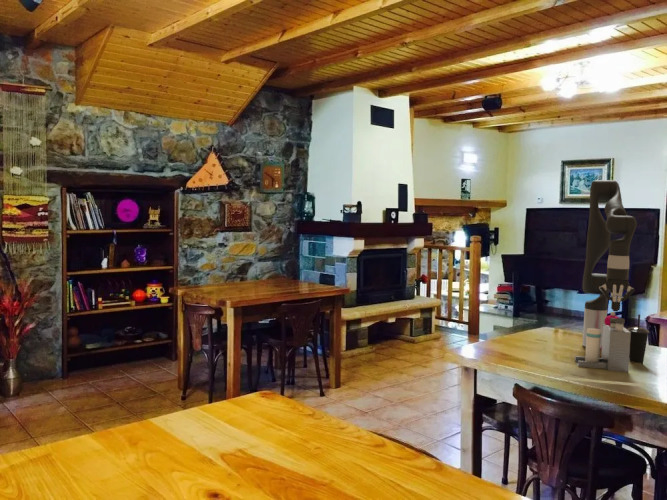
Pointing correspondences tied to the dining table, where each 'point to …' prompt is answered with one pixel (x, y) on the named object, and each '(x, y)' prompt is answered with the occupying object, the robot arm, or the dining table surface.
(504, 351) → the dining table surface
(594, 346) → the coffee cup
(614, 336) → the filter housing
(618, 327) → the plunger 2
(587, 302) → the robot arm
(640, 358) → the drinking cup
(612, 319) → the plunger
